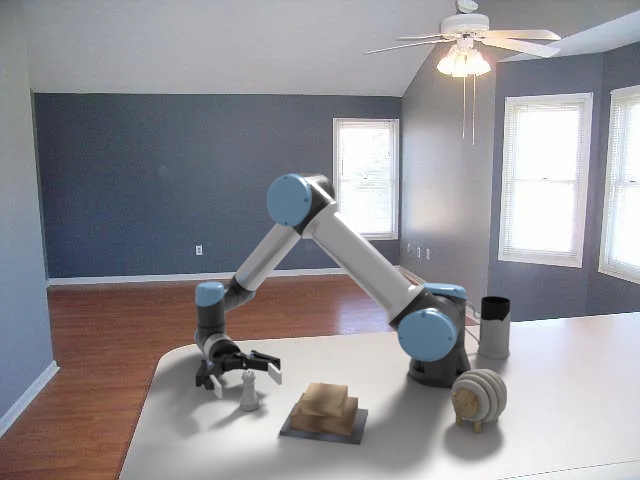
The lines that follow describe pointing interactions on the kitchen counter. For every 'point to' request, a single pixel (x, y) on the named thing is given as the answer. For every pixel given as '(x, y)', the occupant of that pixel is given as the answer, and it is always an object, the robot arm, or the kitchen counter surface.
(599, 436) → the kitchen counter surface
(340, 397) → the plinth
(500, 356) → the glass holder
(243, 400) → the rook chess piece
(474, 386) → the toy sheep
